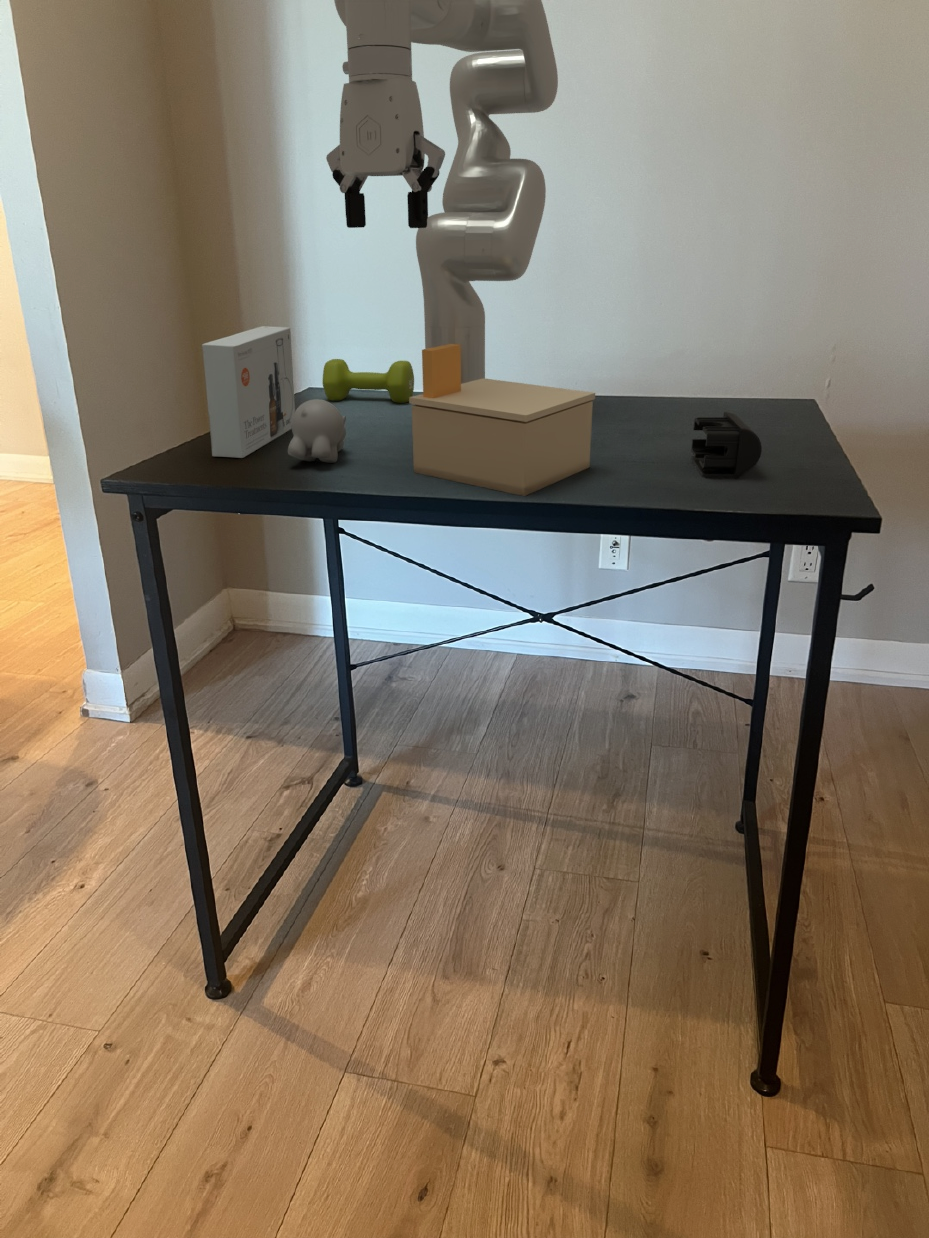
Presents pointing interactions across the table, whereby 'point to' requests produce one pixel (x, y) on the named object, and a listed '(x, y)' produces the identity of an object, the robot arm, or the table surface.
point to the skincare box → (249, 389)
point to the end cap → (725, 447)
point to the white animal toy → (317, 431)
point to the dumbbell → (368, 380)
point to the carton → (501, 447)
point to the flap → (487, 391)
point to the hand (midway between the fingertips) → (386, 227)
